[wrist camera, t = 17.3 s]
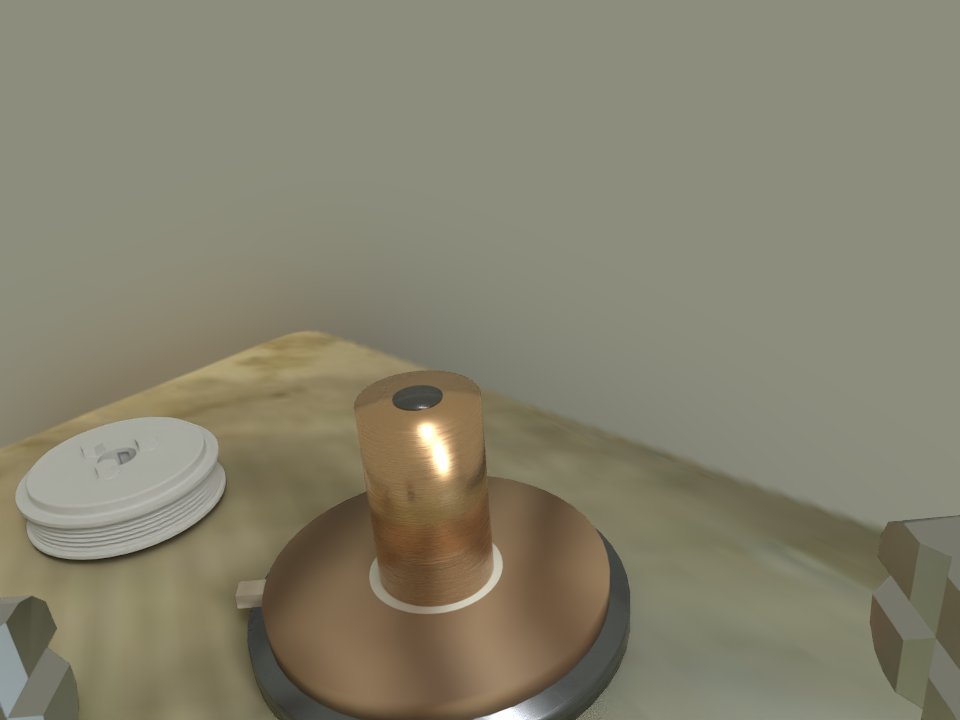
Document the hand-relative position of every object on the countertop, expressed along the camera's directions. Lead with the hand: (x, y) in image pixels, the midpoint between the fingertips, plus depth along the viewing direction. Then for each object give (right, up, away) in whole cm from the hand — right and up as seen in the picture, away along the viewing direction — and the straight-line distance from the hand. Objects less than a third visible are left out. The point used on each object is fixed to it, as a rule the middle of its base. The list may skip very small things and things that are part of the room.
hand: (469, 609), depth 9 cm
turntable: (-3, -10, +38) cm, 39 cm away
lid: (-23, -8, +50) cm, 56 cm away
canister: (-2, -8, +37) cm, 38 cm away
